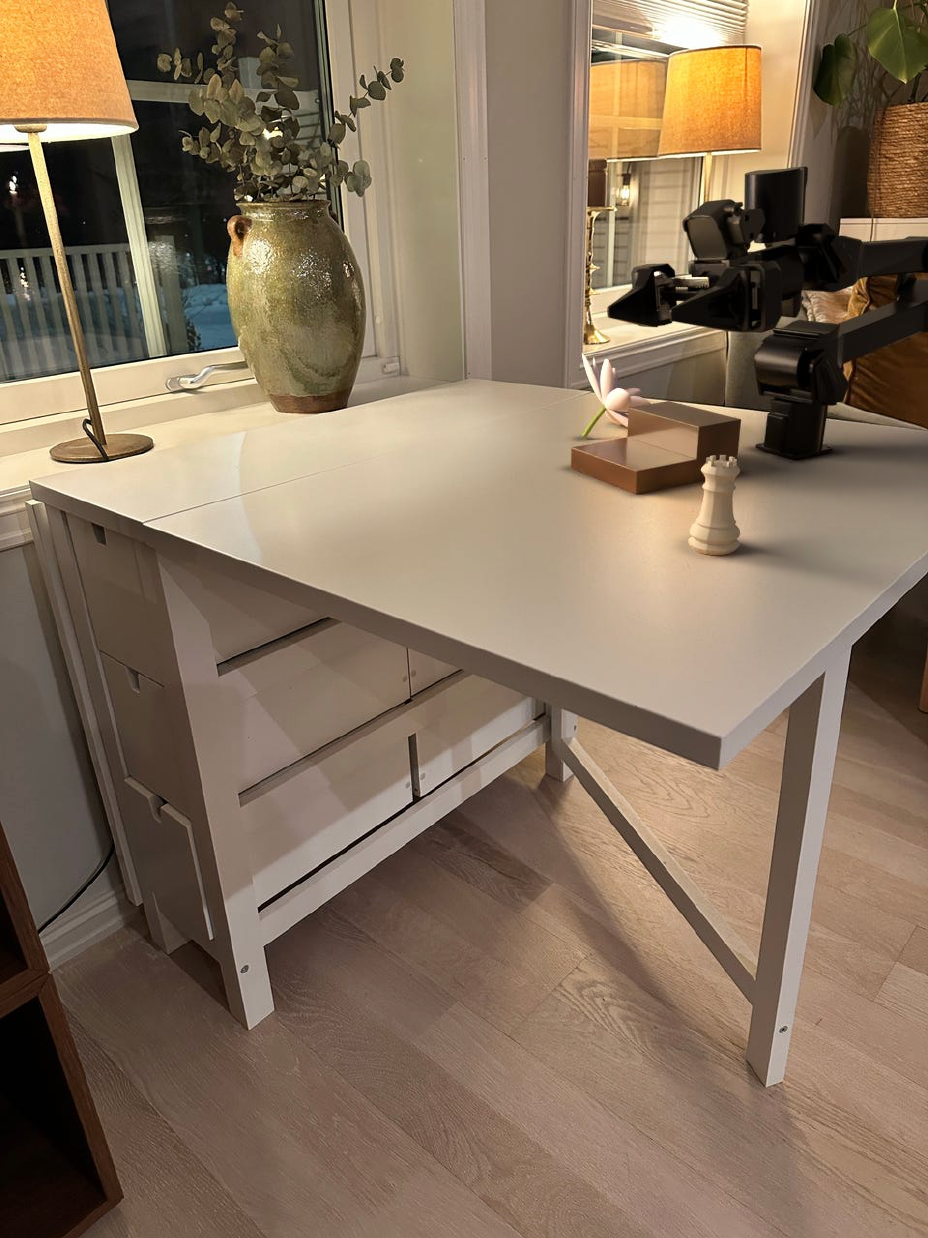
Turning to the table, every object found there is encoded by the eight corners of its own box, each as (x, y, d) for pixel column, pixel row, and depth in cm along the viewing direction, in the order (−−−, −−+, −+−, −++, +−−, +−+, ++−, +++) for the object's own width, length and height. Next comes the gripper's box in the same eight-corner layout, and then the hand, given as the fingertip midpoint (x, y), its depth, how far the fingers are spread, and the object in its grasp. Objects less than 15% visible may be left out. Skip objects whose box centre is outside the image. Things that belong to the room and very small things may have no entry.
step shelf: (665, 450, 108) (668, 400, 106) (736, 472, 99) (741, 419, 96) (570, 468, 102) (571, 416, 100) (635, 494, 93) (638, 437, 90)
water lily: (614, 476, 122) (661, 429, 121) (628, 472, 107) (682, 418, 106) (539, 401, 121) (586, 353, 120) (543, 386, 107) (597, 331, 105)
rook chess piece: (730, 559, 76) (740, 468, 72) (680, 551, 78) (687, 462, 74) (745, 543, 79) (755, 455, 76) (697, 535, 81) (704, 449, 78)
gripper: (684, 204, 97) (571, 230, 91) (827, 189, 82) (702, 219, 76) (690, 309, 102) (582, 340, 96) (825, 313, 87) (708, 351, 81)
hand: (638, 313), depth 87 cm, fingers open, 9 cm apart
